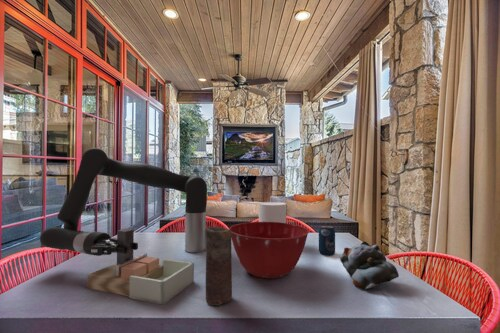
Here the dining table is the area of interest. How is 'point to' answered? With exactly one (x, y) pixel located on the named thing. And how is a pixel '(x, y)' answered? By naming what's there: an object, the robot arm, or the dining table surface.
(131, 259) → the dark piece
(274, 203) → the canister
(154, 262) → the tile
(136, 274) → the tile
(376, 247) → the lucky cat figurine
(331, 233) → the soda can
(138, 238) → the dining table surface
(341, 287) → the dining table surface
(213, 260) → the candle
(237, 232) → the mixing bowl
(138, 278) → the tray
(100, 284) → the curved wooden platform
